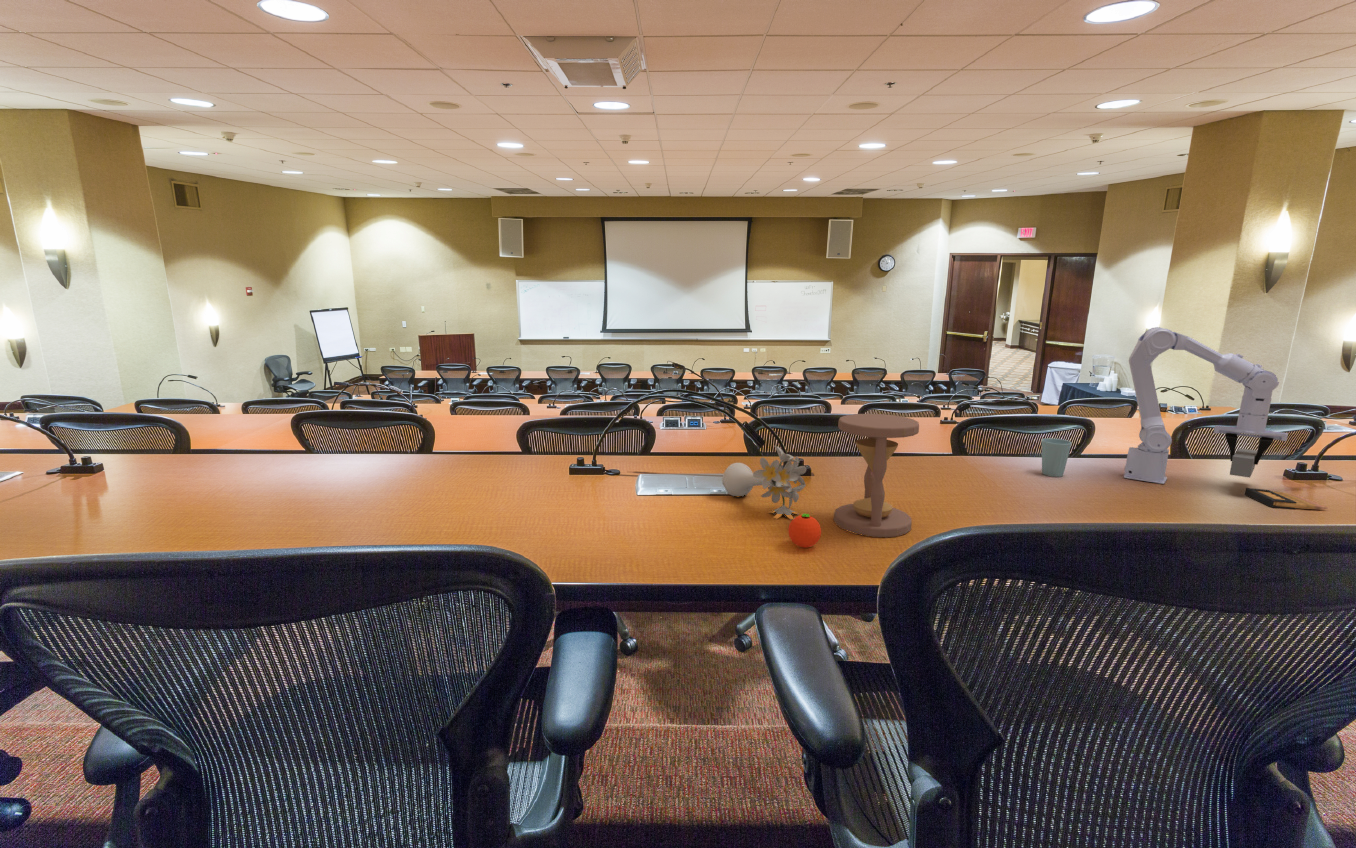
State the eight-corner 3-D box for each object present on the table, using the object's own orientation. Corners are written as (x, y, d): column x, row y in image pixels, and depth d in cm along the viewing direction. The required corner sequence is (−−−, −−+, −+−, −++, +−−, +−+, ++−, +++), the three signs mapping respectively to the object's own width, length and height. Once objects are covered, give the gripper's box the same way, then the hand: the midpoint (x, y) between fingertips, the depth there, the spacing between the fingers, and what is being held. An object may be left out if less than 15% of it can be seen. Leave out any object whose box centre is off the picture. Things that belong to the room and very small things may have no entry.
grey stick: (1229, 474, 161) (1232, 456, 160) (1235, 465, 173) (1238, 448, 172) (1249, 477, 158) (1253, 459, 157) (1254, 467, 170) (1257, 450, 169)
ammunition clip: (1271, 507, 152) (1329, 512, 149) (1273, 500, 151) (1331, 505, 148) (1244, 494, 162) (1298, 499, 159) (1245, 487, 161) (1299, 492, 159)
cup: (1056, 470, 186) (1060, 437, 184) (1073, 477, 178) (1077, 443, 176) (1032, 471, 186) (1036, 438, 183) (1048, 478, 178) (1052, 444, 176)
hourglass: (839, 507, 153) (844, 411, 148) (912, 516, 147) (920, 416, 142) (828, 531, 137) (833, 424, 132) (909, 542, 131) (918, 430, 126)
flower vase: (724, 522, 162) (787, 527, 141) (704, 457, 161) (764, 453, 139) (759, 504, 169) (824, 506, 148) (740, 442, 167) (803, 435, 146)
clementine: (790, 537, 134) (791, 506, 133) (821, 540, 132) (823, 509, 131) (785, 550, 127) (786, 519, 125) (819, 554, 125) (820, 522, 123)
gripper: (1217, 412, 164) (1208, 460, 167) (1292, 419, 155) (1281, 470, 157) (1218, 409, 169) (1209, 455, 172) (1290, 415, 160) (1280, 464, 163)
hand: (1243, 462), depth 165 cm, fingers closed on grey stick, 4 cm apart
